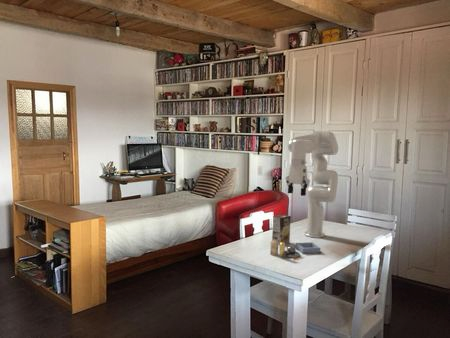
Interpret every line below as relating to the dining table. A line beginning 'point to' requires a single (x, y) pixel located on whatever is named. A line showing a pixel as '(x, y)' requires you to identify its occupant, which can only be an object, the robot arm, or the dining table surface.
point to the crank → (289, 249)
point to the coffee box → (281, 228)
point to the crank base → (293, 255)
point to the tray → (307, 248)
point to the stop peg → (274, 248)
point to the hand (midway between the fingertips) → (296, 194)
